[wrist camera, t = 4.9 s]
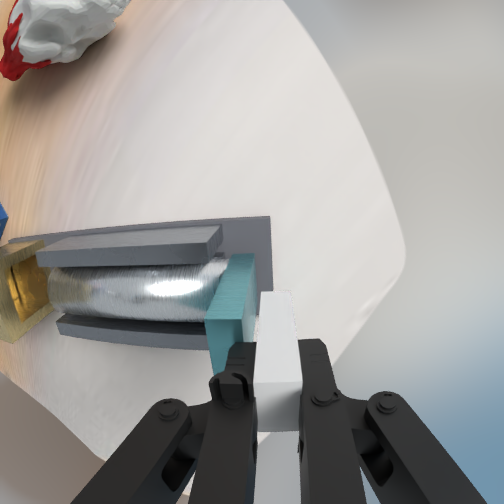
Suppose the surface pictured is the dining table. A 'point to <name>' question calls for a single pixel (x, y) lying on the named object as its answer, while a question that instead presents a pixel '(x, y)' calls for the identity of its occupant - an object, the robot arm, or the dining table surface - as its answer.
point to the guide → (102, 254)
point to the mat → (235, 242)
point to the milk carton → (2, 219)
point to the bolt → (167, 296)
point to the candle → (54, 31)
